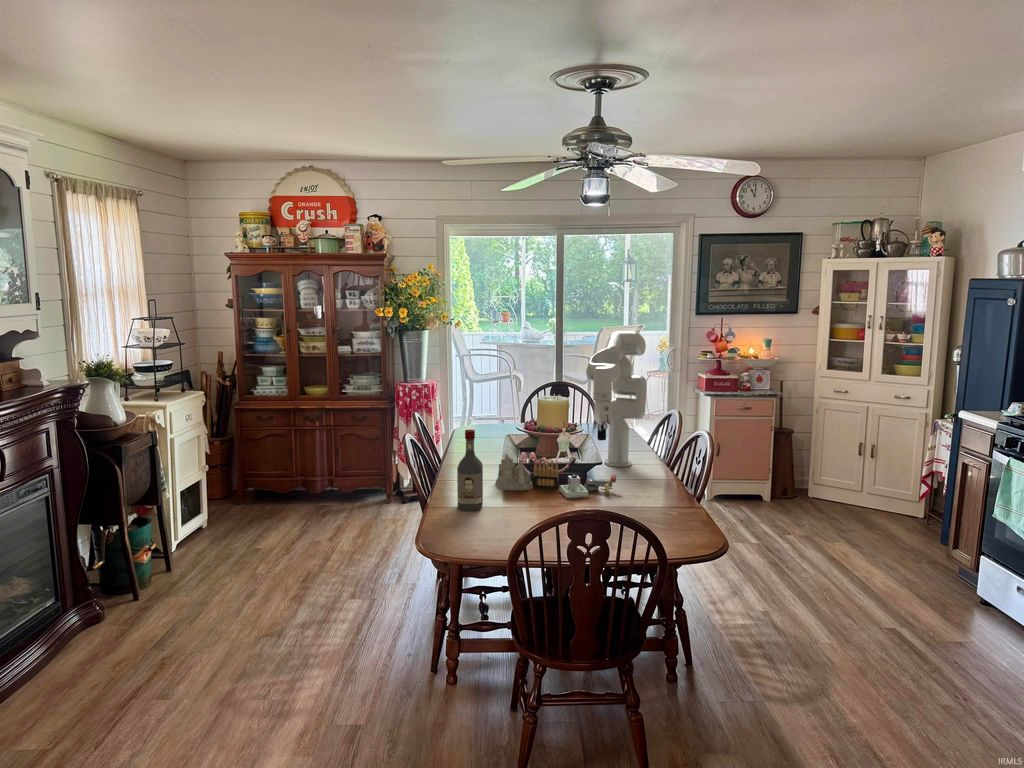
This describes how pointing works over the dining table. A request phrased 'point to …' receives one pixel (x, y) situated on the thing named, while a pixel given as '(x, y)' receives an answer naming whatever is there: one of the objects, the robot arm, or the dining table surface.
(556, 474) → the ammunition clip
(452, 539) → the dining table surface
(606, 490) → the crank pedestal
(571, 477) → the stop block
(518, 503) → the dining table surface
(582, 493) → the tray
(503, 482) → the grey castle model
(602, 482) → the crank
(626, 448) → the robot arm
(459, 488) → the liquor
